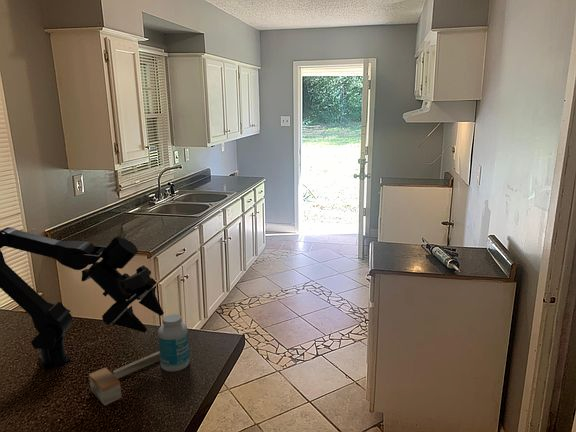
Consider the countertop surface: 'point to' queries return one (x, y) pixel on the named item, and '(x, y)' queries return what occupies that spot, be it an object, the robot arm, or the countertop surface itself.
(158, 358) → the rail
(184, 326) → the pill bottle
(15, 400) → the countertop surface
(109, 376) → the block
